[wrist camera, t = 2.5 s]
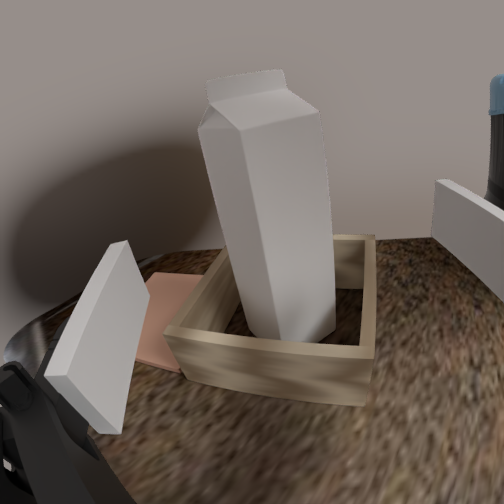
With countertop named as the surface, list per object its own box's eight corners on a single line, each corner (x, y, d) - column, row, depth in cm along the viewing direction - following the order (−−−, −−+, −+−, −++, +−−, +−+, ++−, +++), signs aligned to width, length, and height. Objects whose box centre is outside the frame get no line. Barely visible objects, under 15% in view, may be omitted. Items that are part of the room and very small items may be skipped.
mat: (235, 280, 36) (233, 276, 36) (180, 373, 25) (178, 369, 25) (156, 275, 41) (154, 272, 41) (95, 347, 30) (93, 344, 30)
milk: (336, 330, 27) (315, 63, 16) (284, 366, 24) (228, 71, 13) (295, 300, 31) (260, 73, 20) (246, 329, 29) (186, 86, 18)
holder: (373, 283, 31) (374, 234, 28) (364, 406, 19) (374, 359, 16) (244, 278, 36) (233, 234, 33) (187, 379, 25) (162, 333, 22)
